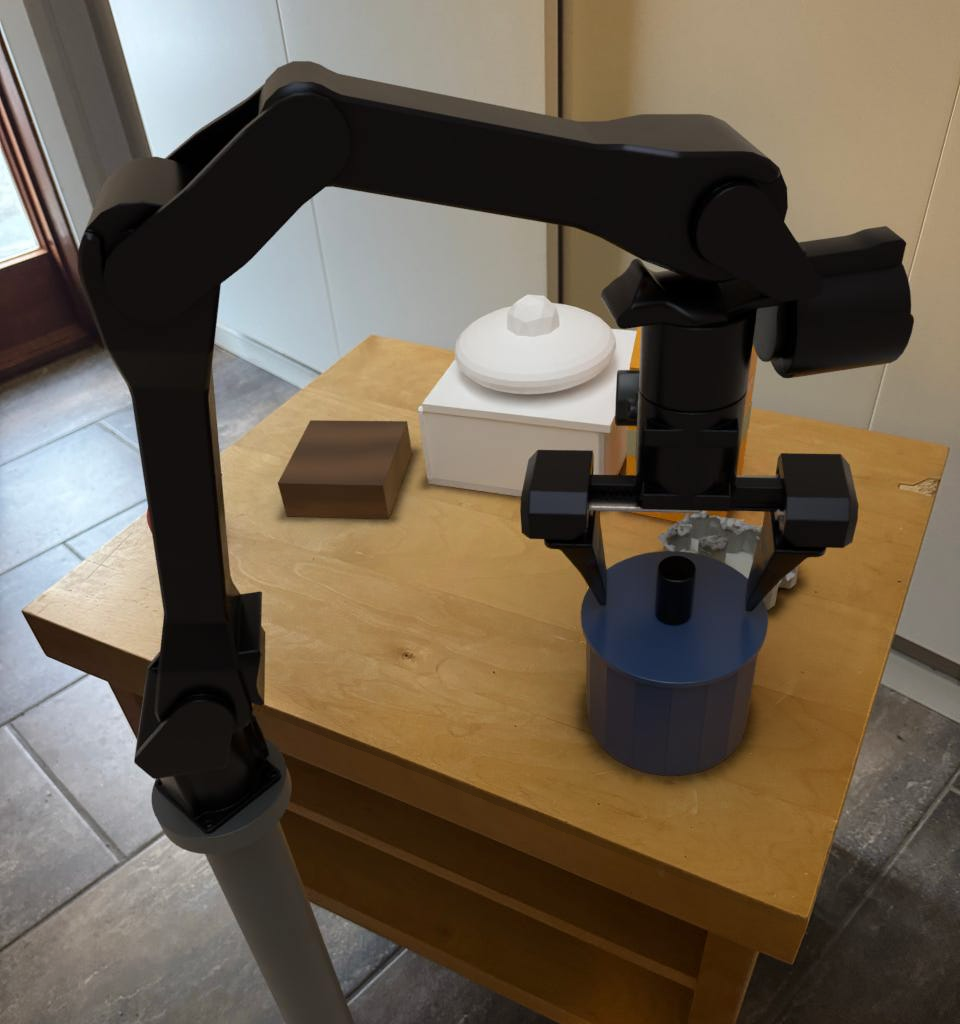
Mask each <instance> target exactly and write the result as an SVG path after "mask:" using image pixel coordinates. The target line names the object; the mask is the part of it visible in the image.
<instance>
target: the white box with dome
mask: <svg viewBox="0 0 960 1024" xmlns="http://www.w3.org/2000/svg"><path fill="white" fill-rule="evenodd" d="M636 333H637V330H630V329H621V328H612V327H610V326H609V325H608V324H607V323H606V322H605V321H604V319H602V318H601V317H600V316H598V315H596V314H594V313H593V312H590V311H588V310H586V309H583V308H580V307H578V306H573V305H569V304H565V303H564V304H563V303H556V302H552V301H550V300H549V299H548V297H546V296H545V295H539V294H528V293H527V294H526V295H525V296H523V297H521V298H520V299H518V300H517V301H515V302H514V303H513V304H512V305H510V306H506V307H503V308H499V309H497V310H493V311H491V312H489V313H487V314H486V315H485V314H484V315H483V316H481V317H479V318H478V319H476V320H474V321H472V322H471V323H470V324H469V325H468V326H467V327H466V328H465V329H464V330H463V331H462V332H461V333H460V335H459V336H458V338H457V340H456V342H455V347H454V354H453V355H454V360H453V361H452V362H451V364H450V366H449V367H448V368H446V370H445V372H444V374H443V375H442V376H441V378H440V379H439V380H438V382H437V383H436V384H435V386H434V387H433V388H432V390H431V391H430V392H429V394H428V395H427V396H426V397H425V399H424V400H423V401H422V403H421V405H419V406H418V408H417V414H418V422H419V429H420V430H419V431H420V437H421V445H422V451H423V458H424V465H425V473H426V480H427V484H428V485H435V486H436V485H437V486H444V487H450V488H458V489H463V490H464V489H465V490H471V491H478V492H485V493H492V494H498V495H499V494H500V495H507V496H513V497H519V498H521V494H522V489H523V484H524V479H525V475H526V470H527V465H528V460H529V459H530V457H531V456H532V455H533V454H534V453H535V452H536V451H537V450H591V451H593V454H594V472H593V475H620V474H619V473H620V472H621V469H622V467H623V465H624V463H625V460H626V459H627V455H626V445H627V428H628V426H617V425H616V424H615V404H616V383H617V371H618V370H630V362H631V357H632V352H633V347H634V343H635V338H636Z"/></svg>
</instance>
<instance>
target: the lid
mask: <svg viewBox="0 0 960 1024" xmlns="http://www.w3.org/2000/svg"><path fill="white" fill-rule="evenodd" d="M606 570H607V601H606V605H605V606H602V605H600V604H599V603H598V601H597V600H596V598H595V596H594V595H593V593H592V591H591V590H590V588H589V587H588V588H587V589H586V592H585V593H584V596H583V599H582V602H581V607H580V625H581V630H582V634H583V637H584V639H585V642H586V641H587V643H588V645H589V646H590V648H591V649H592V651H593V652H594V653H595V654H596V656H597V657H598V658H599V659H600V660H601V661H602V662H604V663H605V664H606V665H607V666H608V667H610V668H611V669H613V670H614V671H616V672H617V673H619V674H621V675H623V676H625V677H627V678H630V679H632V680H635V681H638V682H641V683H644V684H648V685H652V686H658V687H665V688H692V687H699V686H705V685H708V684H712V683H716V682H719V681H721V680H724V679H726V678H728V677H730V676H732V675H734V674H736V673H738V672H739V671H740V670H742V669H743V668H745V667H746V666H747V665H748V664H749V663H750V662H751V661H752V660H753V659H754V658H755V657H756V655H757V654H758V655H759V653H760V651H761V650H762V647H763V646H764V643H765V640H766V637H767V634H768V628H769V613H768V610H767V609H766V605H765V603H764V600H762V601H761V602H760V603H759V604H758V605H757V607H756V608H755V609H754V610H753V611H746V608H745V597H746V588H747V581H748V579H747V578H746V577H745V576H744V575H743V574H742V573H740V572H739V571H737V570H736V569H734V568H733V567H731V566H729V565H727V564H725V563H723V562H721V561H719V560H716V559H714V558H710V557H707V556H704V555H700V554H695V553H690V552H681V551H663V550H662V551H661V550H660V551H652V552H645V553H641V554H636V555H633V556H630V557H628V558H624V559H623V560H620V561H617V562H616V563H614V564H612V565H611V566H609V567H607V568H606Z"/></svg>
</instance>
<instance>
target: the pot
mask: <svg viewBox="0 0 960 1024" xmlns="http://www.w3.org/2000/svg"><path fill="white" fill-rule="evenodd" d="M585 653H586V654H585V659H586V660H585V662H586V663H585V670H586V671H585V672H586V673H585V676H586V678H585V680H586V681H585V683H586V684H585V685H586V686H585V687H586V688H585V691H586V693H585V695H586V696H585V697H586V700H585V702H586V710H587V721H588V725H589V730H590V731H591V734H592V736H593V737H594V739H595V741H596V742H597V744H598V745H599V746H600V748H602V749H603V750H604V751H605V752H606V753H607V754H608V755H610V757H612V758H613V759H615V760H616V761H618V762H619V763H621V764H623V765H625V766H627V767H629V768H631V769H635V770H637V771H640V772H642V773H647V774H652V775H657V776H658V775H659V776H670V777H672V776H685V775H693V774H695V773H700V772H704V771H706V770H709V769H711V768H713V767H715V766H717V765H719V764H720V763H722V762H723V761H725V760H726V759H728V757H730V756H731V755H732V753H734V752H735V751H736V749H737V748H738V746H739V745H740V743H741V741H742V740H743V738H744V734H745V732H746V726H747V721H748V716H749V711H750V705H751V700H752V693H753V686H754V680H755V676H756V669H757V663H758V658H759V653H758V654H757V655H756V657H755V658H754V659H753V660H752V661H751V662H750V663H749V664H748V665H747V666H746V667H745V668H743V669H742V670H740V671H739V672H738V673H736V674H734V675H732V676H730V677H728V678H726V679H724V680H721V681H719V682H716V683H712V684H708V685H705V686H699V687H692V688H665V687H658V686H652V685H648V684H644V683H641V682H638V681H635V680H632V679H630V678H627V677H625V676H623V675H621V674H619V673H617V672H616V671H614V670H613V669H611V668H610V667H608V666H607V665H606V664H605V663H604V662H602V661H601V660H600V659H599V658H598V657H597V656H596V654H595V653H594V652H593V651H592V649H591V648H590V646H589V645H588V643H587V641H586V640H585Z"/></svg>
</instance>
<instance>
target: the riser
mask: <svg viewBox="0 0 960 1024" xmlns="http://www.w3.org/2000/svg"><path fill="white" fill-rule="evenodd" d="M408 424H409V423H408V421H407V420H321V419H320V420H314V419H311V420H309V422H308V424H307V426H306V427H305V429H304V431H303V434H302V435H301V437H300V439H299V440H298V443H297V445H296V446H295V448H294V451H293V453H292V455H291V456H290V458H289V461H288V462H287V464H286V466H285V468H284V470H283V472H282V474H281V476H280V478H279V479H278V481H277V486H278V489H279V494H280V497H281V501H282V504H283V508H284V512H285V515H286V517H300V518H305V517H306V518H337V519H339V518H341V519H373V520H374V519H379V520H389V519H390V516H391V513H392V511H393V507H394V505H395V502H396V500H397V497H398V494H399V491H400V488H401V486H402V483H403V480H404V477H405V475H406V472H407V469H408V466H409V464H410V461H411V459H412V456H413V452H412V444H411V437H410V431H409V425H408Z"/></svg>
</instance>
